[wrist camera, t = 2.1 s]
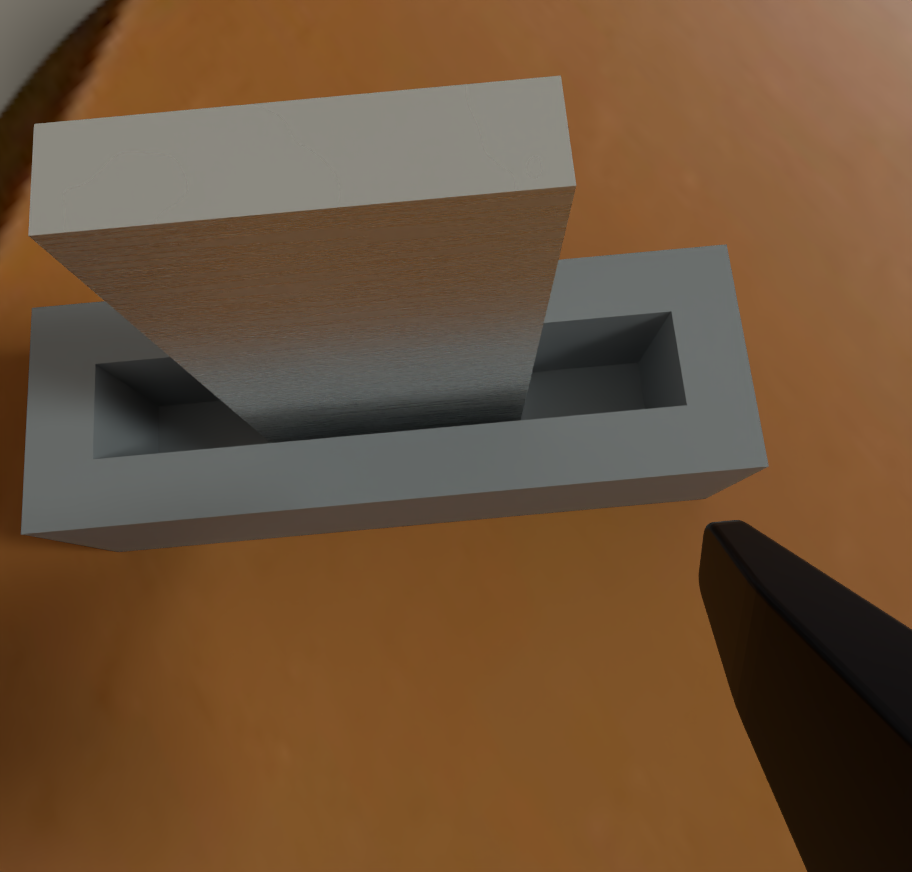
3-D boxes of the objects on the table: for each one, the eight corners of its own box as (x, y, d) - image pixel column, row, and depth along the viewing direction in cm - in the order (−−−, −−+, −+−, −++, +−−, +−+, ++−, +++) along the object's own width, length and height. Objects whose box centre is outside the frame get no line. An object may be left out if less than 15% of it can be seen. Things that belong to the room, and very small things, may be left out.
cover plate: (516, 439, 20) (575, 185, 8) (289, 459, 20) (29, 236, 8) (510, 388, 20) (560, 75, 9) (288, 408, 20) (34, 123, 9)
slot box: (705, 498, 20) (768, 466, 16) (118, 552, 20) (20, 533, 16) (675, 320, 22) (726, 244, 17) (121, 370, 22) (32, 307, 17)
